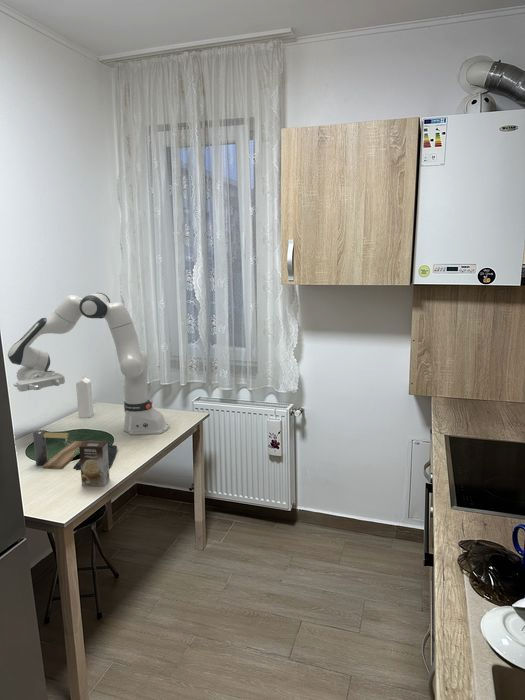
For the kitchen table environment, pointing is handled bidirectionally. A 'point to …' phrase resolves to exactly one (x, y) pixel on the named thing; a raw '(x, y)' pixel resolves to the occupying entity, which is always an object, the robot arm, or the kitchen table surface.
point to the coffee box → (94, 463)
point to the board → (63, 456)
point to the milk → (84, 398)
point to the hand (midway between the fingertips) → (47, 386)
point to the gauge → (44, 444)
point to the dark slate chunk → (111, 455)
